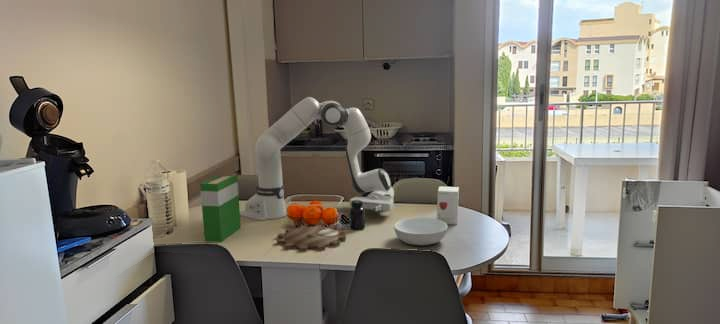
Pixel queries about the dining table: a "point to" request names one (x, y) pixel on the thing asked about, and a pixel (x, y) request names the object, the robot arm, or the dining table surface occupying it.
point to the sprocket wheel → (311, 238)
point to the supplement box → (448, 204)
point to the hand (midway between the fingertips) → (364, 208)
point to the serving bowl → (420, 230)
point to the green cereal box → (220, 207)
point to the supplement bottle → (357, 215)
